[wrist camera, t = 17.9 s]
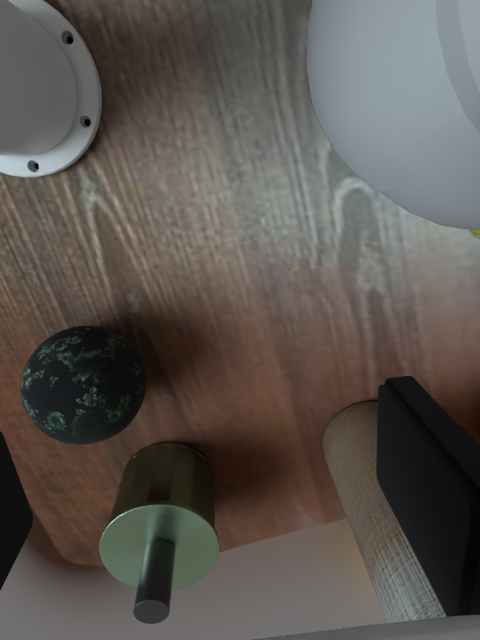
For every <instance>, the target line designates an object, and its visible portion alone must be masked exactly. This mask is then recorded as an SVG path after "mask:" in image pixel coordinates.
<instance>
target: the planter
mask: <svg viewBox="0 0 480 640" xmlns="http://www.w3.org/2000/svg"><path fill="white" fill-rule="evenodd" d="M377 421H378V402H377V401H369V402H362V403H358V404H355V405H352V406H349V407H347V408H346V409H344V410H342V411H341V412H339V413H338V414H337V415H336V416H335V417H334V418H333V419H332V420H331V421H330V423H329V424H328V425H327V427H326V429H325V431H324V434H323V438H322V450H323V453H324V457H325V460H326V463H327V466H328V468H329V471H330V474H331V476H332V479H333V482H334V484H335V487H336V490H337V492H338V495H339V497H340V500H341V503H342V505H343V508H344V511H345V513H346V516H347V519H348V521H349V524H350V527H351V529H352V531H353V534H354V537H355V540H356V542H357V545H358V548H359V550H360V553H361V555H362V558H363V561H364V564H365V566H366V569H367V571H368V574H369V577H370V579H371V582H372V585H373V587H374V590H375V593H376V595H377V598H378V600H379V603H380V606H381V608H382V611H383V614H384V616H385V619H386V622H387V623H394V622H404V621H414V620H423V619H433V618H442V617H447V616H446V614H445V612H444V610H443V608H442V606H441V604H440V602H439V600H438V598H437V596H436V594H435V592H434V590H433V589H432V587H431V585H430V583H429V581H428V579H427V577H426V575H425V573H424V571H423V569H422V567H421V565H420V563H419V561H418V559H417V557H416V556H415V554H414V552H413V550H412V548H411V546H410V544H409V542H408V540H407V538H406V536H405V534H404V532H403V530H402V528H401V526H400V525H399V523H398V521H397V519H396V517H395V515H394V513H393V511H392V509H391V507H390V505H389V503H388V501H387V499H386V497H385V495H384V493H383V492H382V490H381V488H380V485H379V483H378V479H377V474H376V457H377Z"/></svg>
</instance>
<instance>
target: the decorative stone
mask: <svg viewBox="0 0 480 640" xmlns="http://www.w3.org/2000/svg"><path fill="white" fill-rule="evenodd" d="M145 391H146V373H145V368H144V365H143V362H142V360H141V358H140V356H139V354H138V352H137V351H136V349H135V348H134V347H133V345H132V344H131V343H130V342H129V341H127V340H126V339H125V338H124V337H122V336H121V335H119V334H117V333H115V332H113V331H111V330H108V329H105V328H101V327H95V326H78V327H72V328H69V329H66V330H63V331H61V332H58V333H56V334H54V335H53V336H51V337H49V338H48V339H47V340H45V341H44V342H43V343H42V344H41V345H39V346H38V348H37V349H36V350H35V351H34V353H33V354H32V355H31V357H30V358H29V360H28V362H27V364H26V367H25V369H24V373H23V376H22V381H21V397H22V402H23V406H24V408H25V411H26V412H27V414H28V416H29V418H30V419H31V421H32V422H33V423H34V424H35V425H36V426H37V427H38V428H39V429H40V430H41V431H42V432H43V433H45V434H46V435H48V436H49V437H51V438H53V439H56V440H58V441H60V442H64V443H68V444H77V445H85V444H92V443H97V442H100V441H103V440H106V439H108V438H110V437H112V436H115V435H116V434H118V433H119V432H121V431H122V430H123V429H124V428H126V427H127V426H128V425H129V424H130V423H131V421H132V420H133V419H134V417H135V416H136V414H137V413H138V411H139V409H140V407H141V405H142V402H143V399H144V396H145Z"/></svg>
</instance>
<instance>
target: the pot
mask: <svg viewBox="0 0 480 640" xmlns="http://www.w3.org/2000/svg"><path fill="white" fill-rule="evenodd" d="M149 501H171V502H177V503H181V504H184V505H187V506H190V507H192V508H194V509H196V510H197V511H199V512H200V513H202V514H203V515H204V516H205V517H207V518H208V519H209V521H210V522H211V523H212V524H213V526H214V527H215V511H214V471H213V468H212V465H211V463H210V462H209V460H208V459H207V458H206V457H205V456H204V455H203V454H202V453H201V452H200V451H198V450H197V449H195V448H193V447H191V446H189V445H186V444H183V443H178V442H160V443H155V444H152V445H149V446H146V447H144V448H143V449H141V450H139V451H138V452H137V453H135V454H134V455H133V456H132V457H131V459H130V460H129V461H128V463H127V465H126V468H125V471H124V473H123V475H122V479H121V482H120V486H119V489H118V492H117V496H116V499H115V503H114V506H113V509H112V513H111V516H110V520H111V519H112V518H113V517H114V516H115V515H117V514H118V513H119V512H121V511H123V510H124V509H126V508H128V507H131V506H133V505H136V504H139V503H143V502H149ZM110 520H109V521H110Z"/></svg>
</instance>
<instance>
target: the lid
mask: <svg viewBox="0 0 480 640" xmlns="http://www.w3.org/2000/svg"><path fill="white" fill-rule="evenodd" d="M99 547H100V556H101V559H102V562H103V564H104V566H105V567H106V569H107V570H108V571H109V572H110V573H111V574H112V575H113V576H114V577H115V578H116V579H118V580H119V581H121V582H123V583H124V584H126V585H128V586H131V587H134V588H137V594H136V599H135V605H134V610H133V612H134V616H135V617H136V619H138V620H139V621H141V622H143V623H147V624H155V623H159V622H161V621H163V620H165V619H166V618H167V616H168V615H169V610H170V599H171V591H172V590H178V589H182V588H185V587H187V586H190V585H192V584H194V583H196V582H198V581H199V580H200V579H202V578H203V577H204V576H205V575H207V574H208V573H209V571H210V570H211V569H212V568H213V566H214V565H215V562H216V560H217V558H218V554H219V538H218V534H217V532H216V529H215V527H214V526H213V524H212V523H211V522H210V521H209V519H208V518H207V517H205V516H204V515H203V514H202V513H200V512H199V511H197V510H196V509H194V508H192V507H190V506H187V505H184V504H181V503H177V502H171V501H149V502H143V503H139V504H136V505H133V506H131V507H128V508H126V509H124V510H123V511H121V512H119V513H118V514H117V515H115V516H114V517H113V518H112V519H111V520H110V521H109V523H108V524H107V525H106V527H105V529H104V531H103V534H102V537H101V540H100V546H99Z"/></svg>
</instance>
